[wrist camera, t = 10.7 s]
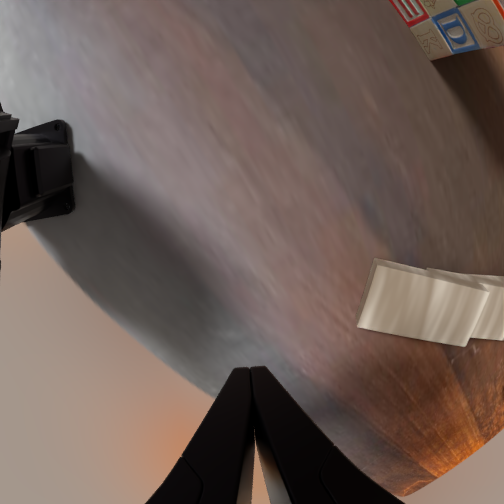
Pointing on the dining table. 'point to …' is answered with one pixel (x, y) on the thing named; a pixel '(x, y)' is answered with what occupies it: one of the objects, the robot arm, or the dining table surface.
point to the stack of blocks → (453, 24)
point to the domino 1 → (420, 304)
